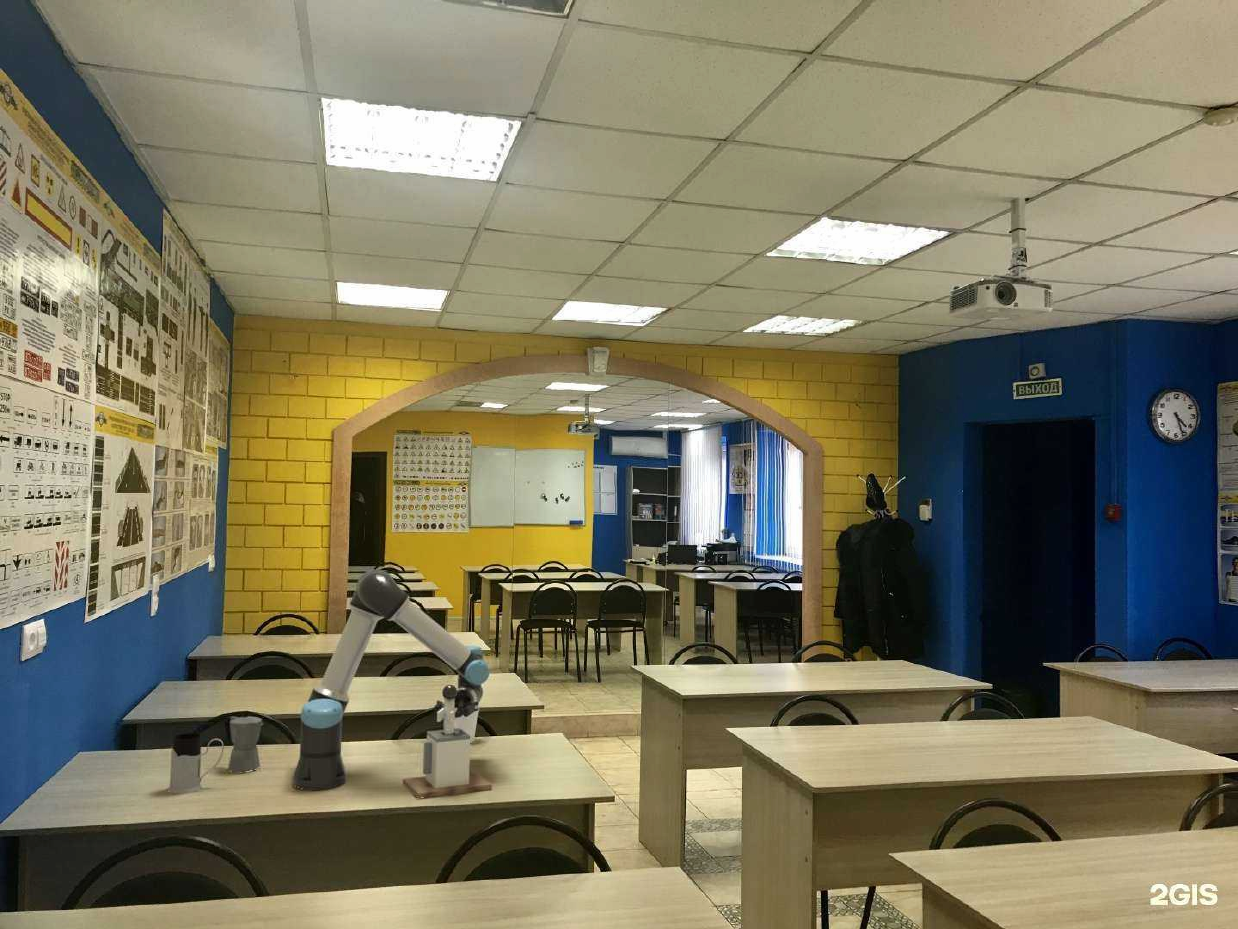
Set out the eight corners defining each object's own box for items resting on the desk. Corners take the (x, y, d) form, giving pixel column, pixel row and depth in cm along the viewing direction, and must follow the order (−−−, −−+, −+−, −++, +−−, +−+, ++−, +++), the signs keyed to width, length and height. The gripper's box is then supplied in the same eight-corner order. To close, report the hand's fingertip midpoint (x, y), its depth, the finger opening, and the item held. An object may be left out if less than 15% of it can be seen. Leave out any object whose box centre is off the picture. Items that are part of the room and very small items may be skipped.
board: (417, 799, 259) (417, 793, 259) (402, 784, 273) (402, 779, 274) (491, 789, 270) (491, 784, 270) (473, 775, 284) (473, 770, 284)
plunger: (439, 779, 267) (442, 688, 268) (432, 773, 273) (435, 683, 275) (462, 776, 270) (465, 686, 272) (455, 770, 276) (457, 682, 278)
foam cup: (481, 739, 329) (482, 702, 330) (474, 745, 320) (475, 708, 321) (455, 738, 330) (456, 701, 331) (447, 744, 321) (449, 706, 322)
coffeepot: (271, 768, 287) (273, 710, 288) (248, 776, 279) (251, 715, 280) (234, 762, 293) (236, 705, 294) (210, 769, 285) (213, 710, 286)
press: (428, 789, 264) (429, 739, 265) (418, 780, 273) (419, 732, 273) (468, 784, 270) (470, 735, 270) (458, 775, 278) (459, 728, 279)
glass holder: (169, 786, 267) (171, 733, 268) (222, 782, 272) (224, 730, 273) (166, 795, 259) (168, 740, 259) (221, 790, 264) (223, 737, 264)
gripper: (487, 714, 290) (471, 731, 267) (437, 712, 291) (417, 729, 267) (488, 689, 290) (472, 705, 267) (437, 688, 291) (417, 703, 268)
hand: (444, 717), depth 267 cm, fingers closed on plunger, 3 cm apart
